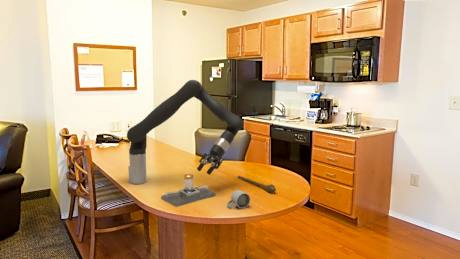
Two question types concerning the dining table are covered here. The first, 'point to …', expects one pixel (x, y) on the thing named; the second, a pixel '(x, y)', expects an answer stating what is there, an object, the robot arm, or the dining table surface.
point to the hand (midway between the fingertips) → (203, 172)
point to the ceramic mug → (239, 199)
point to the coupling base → (187, 195)
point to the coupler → (188, 183)
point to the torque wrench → (268, 187)
